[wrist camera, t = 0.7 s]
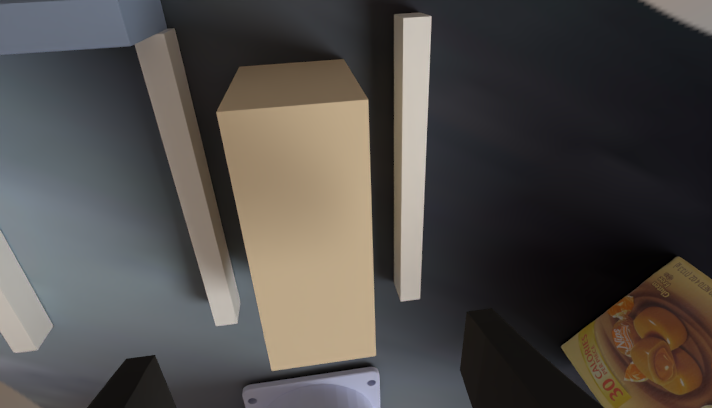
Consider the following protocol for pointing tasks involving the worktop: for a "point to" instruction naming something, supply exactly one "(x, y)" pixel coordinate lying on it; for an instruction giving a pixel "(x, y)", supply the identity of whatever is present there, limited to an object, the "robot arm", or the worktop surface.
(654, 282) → the candy box
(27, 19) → the divider organiser
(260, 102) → the tall tan wooden block
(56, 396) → the worktop surface
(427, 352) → the worktop surface
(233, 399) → the worktop surface
